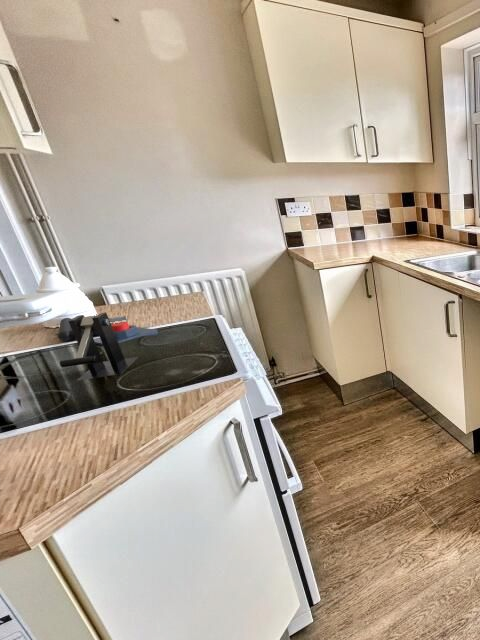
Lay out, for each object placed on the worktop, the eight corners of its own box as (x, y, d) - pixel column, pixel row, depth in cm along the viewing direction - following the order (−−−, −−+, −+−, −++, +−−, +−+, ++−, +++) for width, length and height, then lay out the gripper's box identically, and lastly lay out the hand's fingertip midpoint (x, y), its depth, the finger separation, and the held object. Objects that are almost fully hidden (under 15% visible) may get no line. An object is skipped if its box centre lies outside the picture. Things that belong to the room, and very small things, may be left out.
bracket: (123, 378, 95) (99, 320, 90) (77, 385, 92) (50, 326, 87) (140, 361, 104) (120, 307, 99) (99, 367, 101) (76, 312, 96)
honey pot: (104, 319, 139) (82, 264, 132) (50, 331, 129) (23, 272, 122) (91, 313, 145) (69, 261, 139) (38, 324, 135) (12, 269, 129)
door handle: (123, 310, 139) (54, 318, 129) (127, 323, 126) (49, 334, 115) (126, 319, 140) (57, 329, 130) (130, 333, 127) (53, 345, 116)
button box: (110, 350, 112) (105, 338, 111) (90, 346, 115) (85, 334, 114) (159, 335, 122) (155, 323, 121) (139, 332, 125) (135, 321, 124)
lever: (98, 365, 89) (92, 357, 87) (64, 370, 87) (57, 362, 85) (110, 321, 97) (105, 314, 95) (79, 325, 94) (73, 317, 93)
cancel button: (118, 332, 115) (115, 326, 115) (110, 331, 116) (107, 325, 116) (133, 328, 118) (130, 322, 118) (125, 327, 120) (122, 321, 119)
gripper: (30, 294, 61) (76, 276, 73) (-183, 314, 54) (-93, 290, 66) (48, 335, 64) (90, 311, 76) (-153, 359, 56) (-72, 328, 68)
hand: (4, 301), depth 71 cm, fingers open, 8 cm apart
